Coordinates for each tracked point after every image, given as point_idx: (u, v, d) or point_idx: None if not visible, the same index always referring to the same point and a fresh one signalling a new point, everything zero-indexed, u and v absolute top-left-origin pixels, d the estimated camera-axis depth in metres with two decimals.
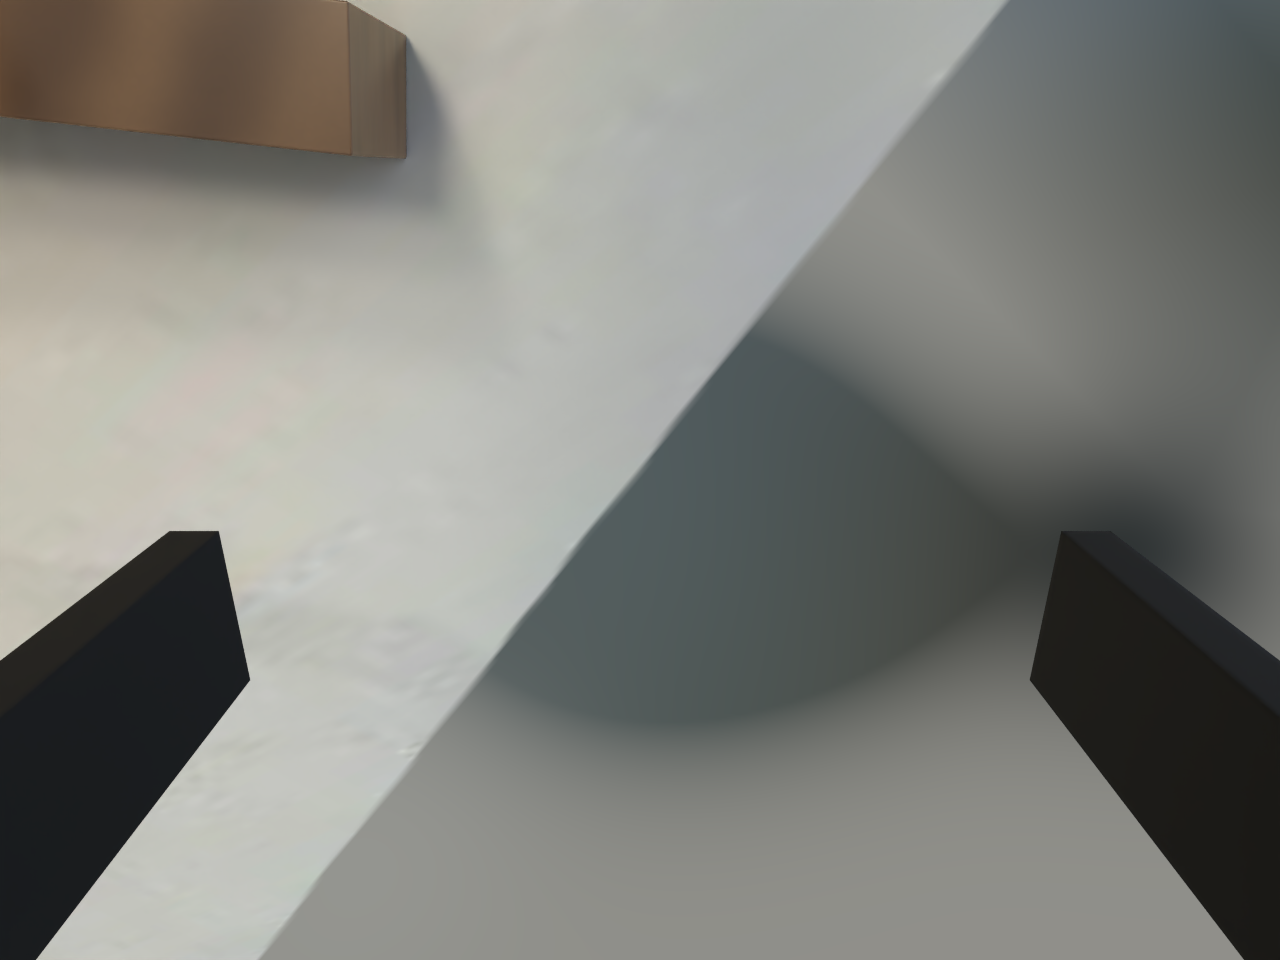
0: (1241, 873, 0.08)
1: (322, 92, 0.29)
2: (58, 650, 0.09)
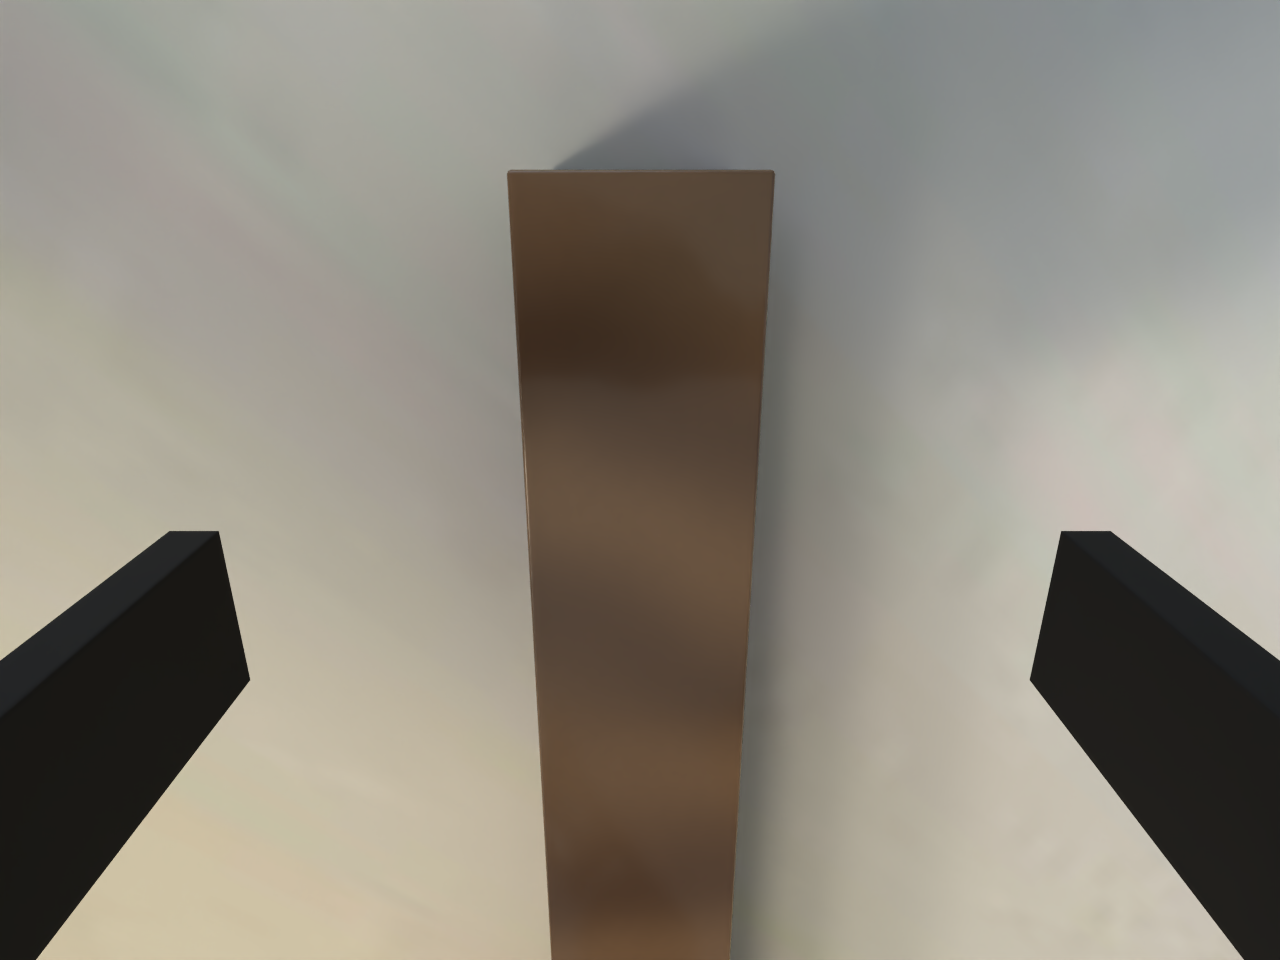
0: (1240, 874, 0.08)
1: (666, 227, 0.15)
2: (59, 650, 0.09)
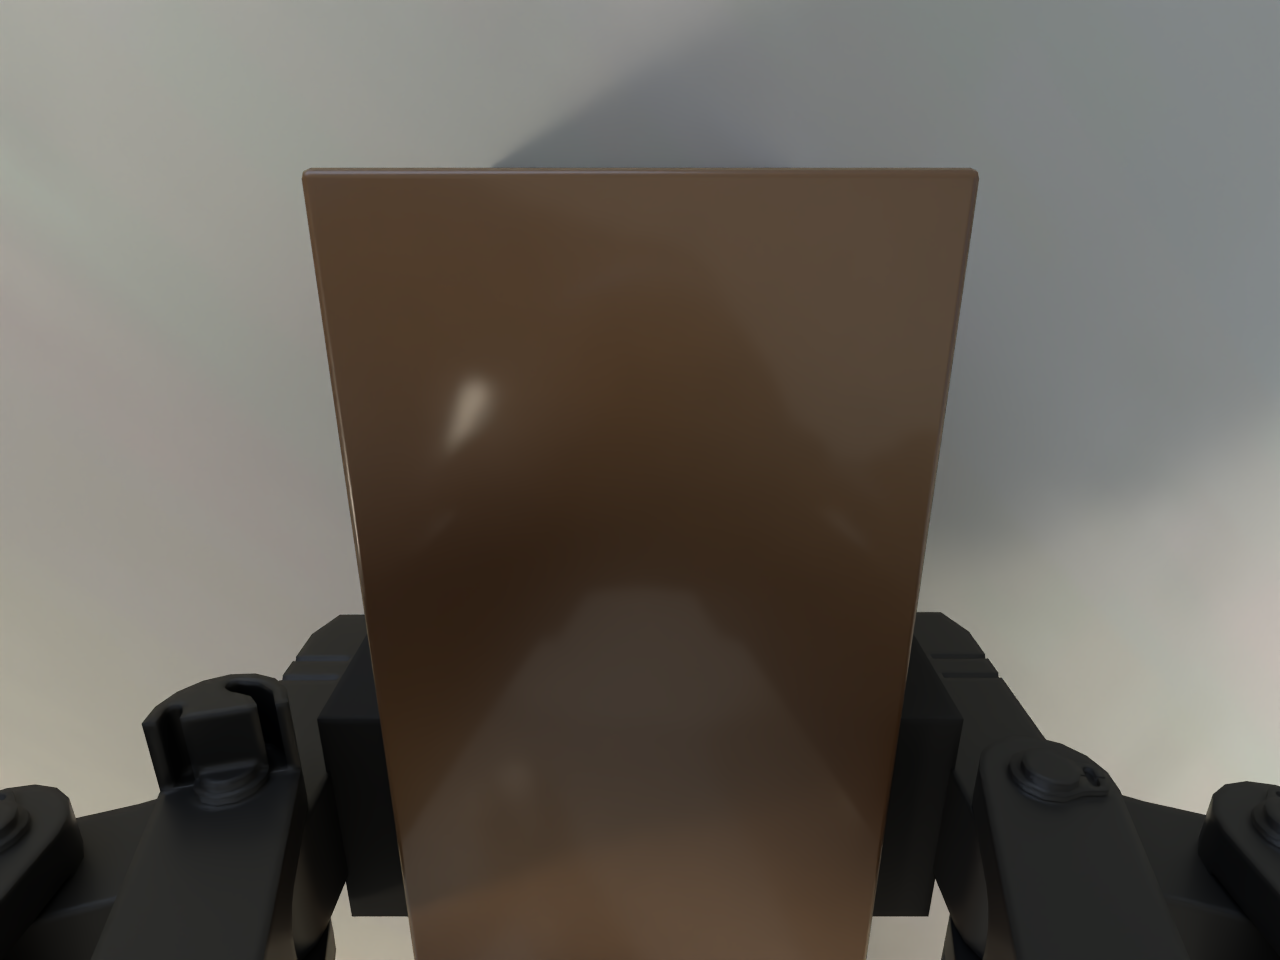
0: None
1: (700, 310, 0.06)
2: None
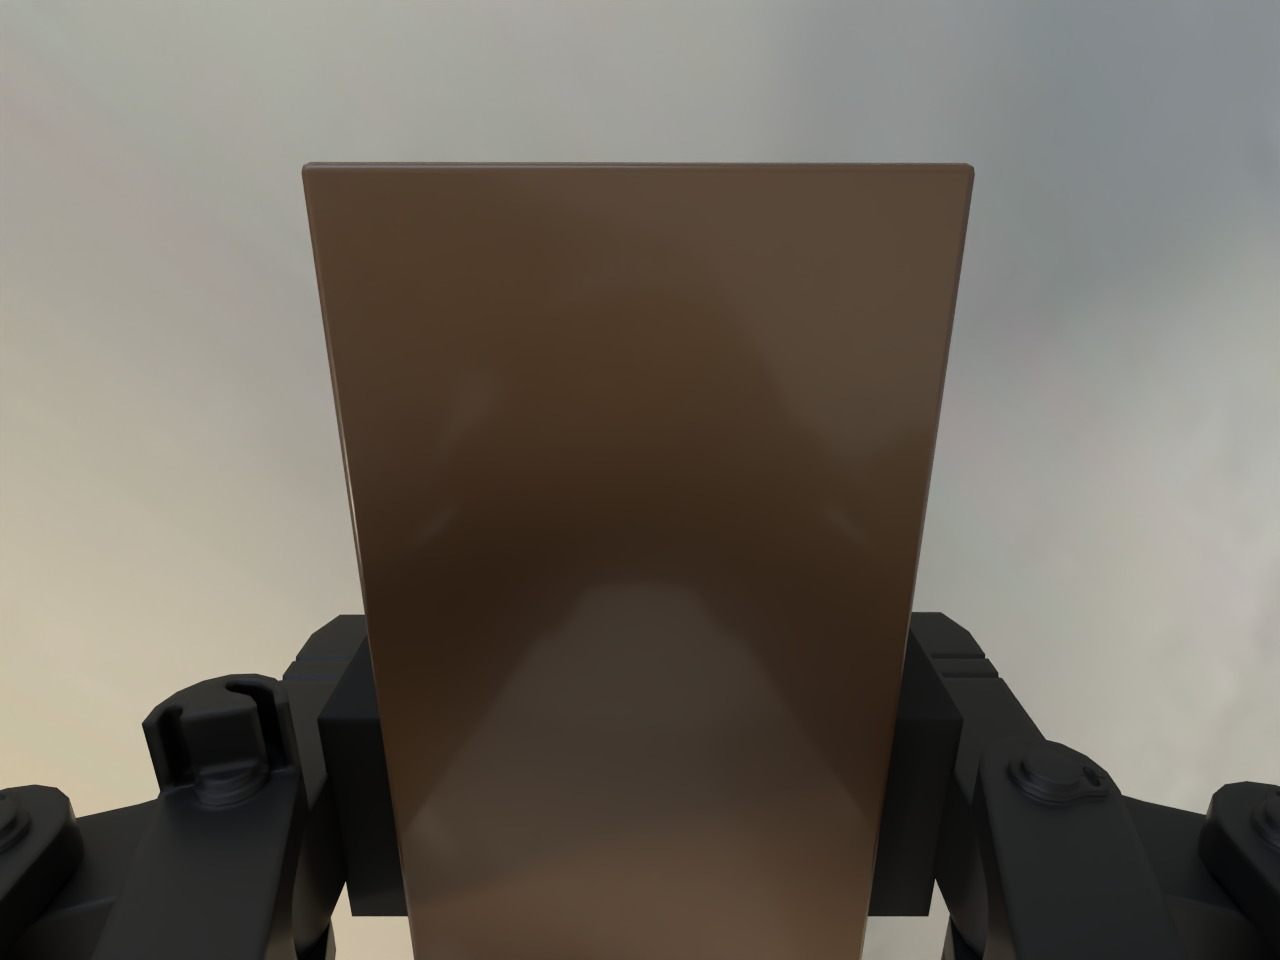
0: None
1: (697, 305, 0.06)
2: None
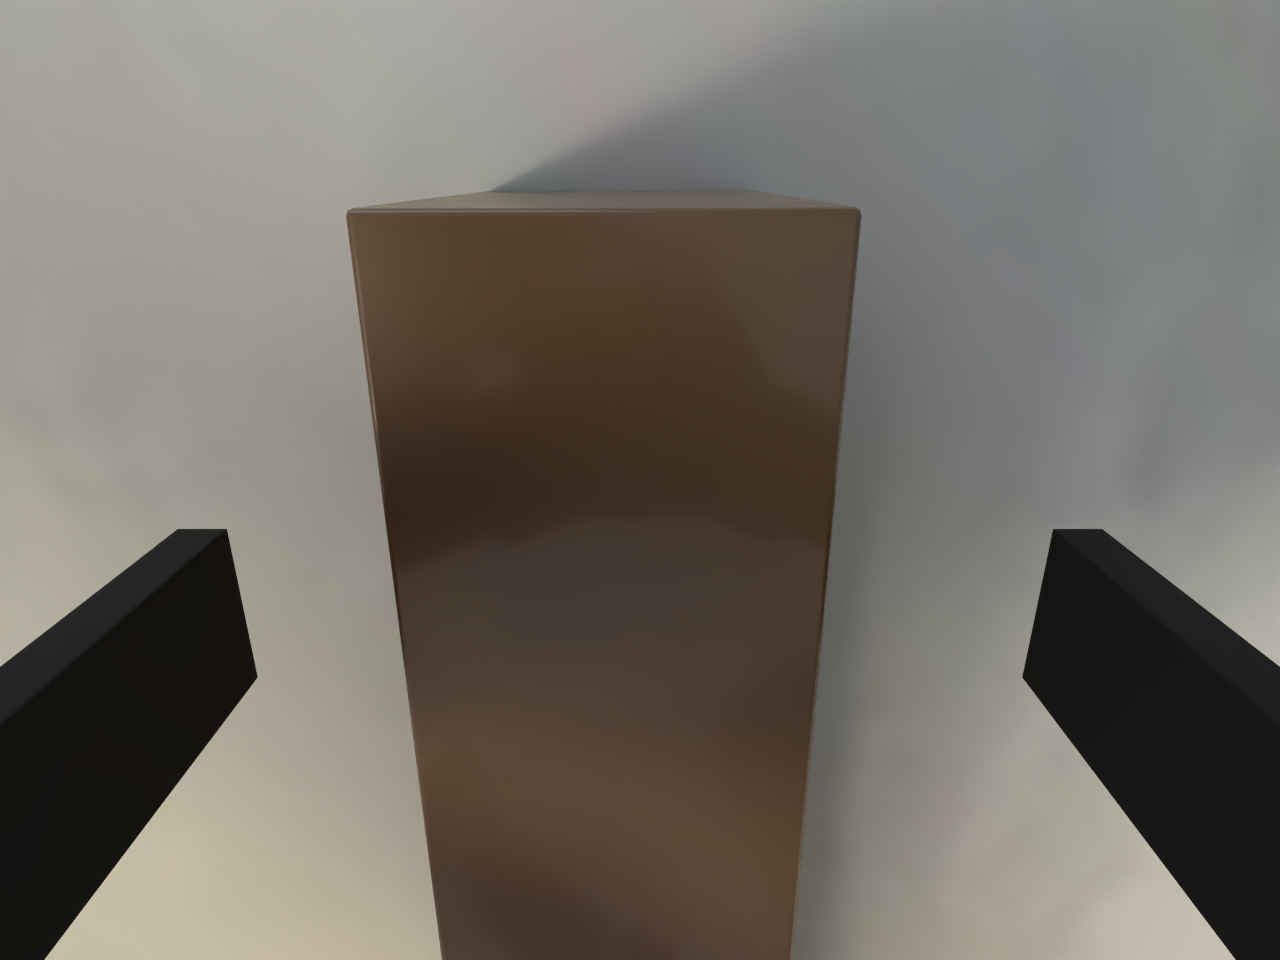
0: (1228, 868, 0.09)
1: (651, 315, 0.08)
2: (70, 646, 0.09)
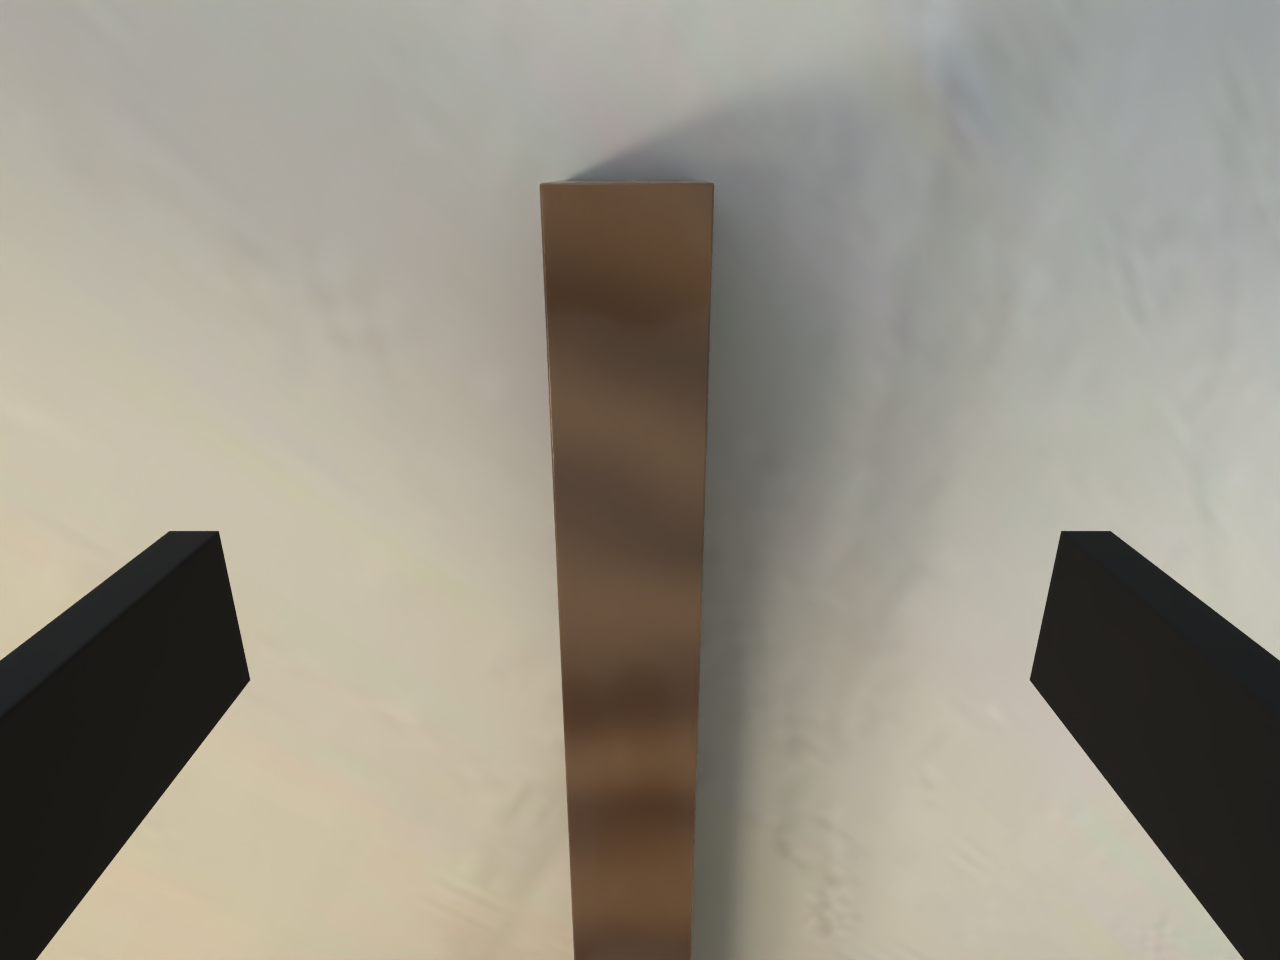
0: (1239, 873, 0.09)
1: (643, 220, 0.23)
2: (58, 650, 0.09)
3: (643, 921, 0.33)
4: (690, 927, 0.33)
